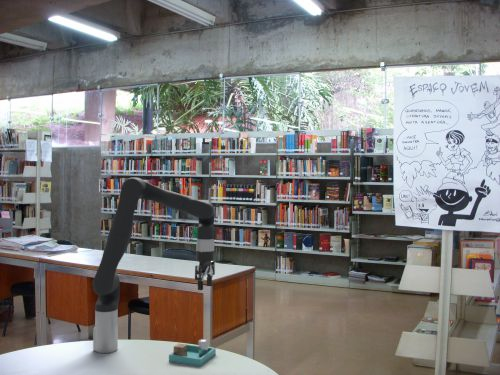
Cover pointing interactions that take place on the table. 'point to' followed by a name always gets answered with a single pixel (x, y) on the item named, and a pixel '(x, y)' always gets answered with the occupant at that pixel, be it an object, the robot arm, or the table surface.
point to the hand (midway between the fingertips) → (204, 287)
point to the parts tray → (193, 356)
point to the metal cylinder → (203, 347)
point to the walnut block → (180, 349)
